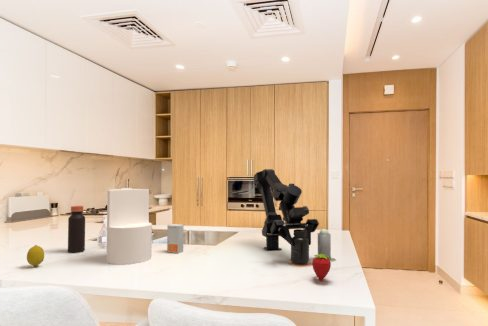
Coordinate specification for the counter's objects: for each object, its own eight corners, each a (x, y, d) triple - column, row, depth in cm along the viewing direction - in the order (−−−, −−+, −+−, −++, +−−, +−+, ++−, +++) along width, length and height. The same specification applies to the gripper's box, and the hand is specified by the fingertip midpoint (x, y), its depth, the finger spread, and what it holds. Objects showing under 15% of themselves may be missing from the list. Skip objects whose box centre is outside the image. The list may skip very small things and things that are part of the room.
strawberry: (330, 277, 112) (329, 247, 112) (331, 285, 104) (331, 252, 104) (311, 276, 113) (311, 246, 113) (312, 284, 105) (312, 251, 106)
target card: (278, 261, 133) (278, 259, 133) (327, 257, 140) (327, 255, 140) (292, 269, 121) (292, 267, 121) (345, 264, 128) (345, 263, 128)
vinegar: (87, 249, 153) (88, 205, 154) (79, 253, 146) (79, 207, 147) (73, 249, 154) (74, 205, 154) (64, 253, 147) (65, 207, 147)
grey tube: (315, 258, 135) (315, 228, 136) (326, 257, 137) (326, 227, 137) (321, 261, 130) (321, 230, 131) (333, 260, 132) (332, 229, 132)
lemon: (25, 269, 121) (26, 247, 121) (27, 265, 126) (27, 244, 126) (43, 267, 124) (44, 245, 124) (44, 264, 129) (45, 243, 129)
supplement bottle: (312, 263, 125) (312, 231, 125) (295, 265, 123) (295, 232, 123) (303, 259, 132) (304, 228, 132) (287, 260, 130) (288, 228, 130)
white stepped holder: (98, 259, 136) (99, 189, 137) (137, 252, 149) (138, 188, 150) (119, 267, 124) (120, 191, 125) (159, 258, 137) (160, 189, 138)
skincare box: (166, 252, 148) (166, 225, 148) (172, 250, 152) (172, 223, 152) (178, 253, 146) (178, 225, 146) (183, 251, 150) (183, 224, 150)
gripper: (273, 199, 129) (285, 233, 118) (316, 198, 134) (331, 231, 124) (265, 217, 136) (276, 251, 126) (307, 215, 142) (320, 248, 131)
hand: (301, 245), depth 126 cm, fingers closed on supplement bottle, 7 cm apart
